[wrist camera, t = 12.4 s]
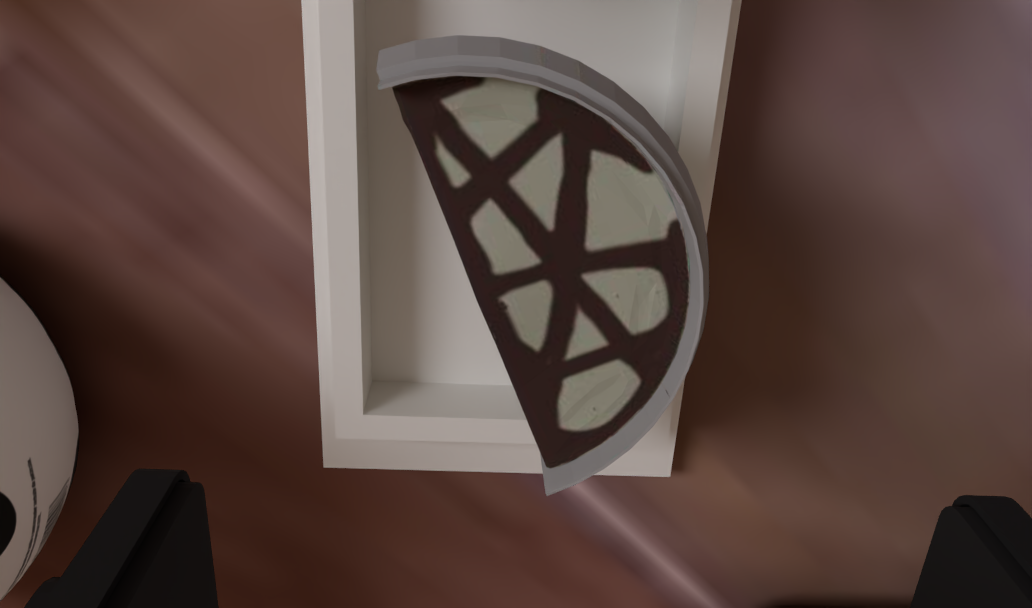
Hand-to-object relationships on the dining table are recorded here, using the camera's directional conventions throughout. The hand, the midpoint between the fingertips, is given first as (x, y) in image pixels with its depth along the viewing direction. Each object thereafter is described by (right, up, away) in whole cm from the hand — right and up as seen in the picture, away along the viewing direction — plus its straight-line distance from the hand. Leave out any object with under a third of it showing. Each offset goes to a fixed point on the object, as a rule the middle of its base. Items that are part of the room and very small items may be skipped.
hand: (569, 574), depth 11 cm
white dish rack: (-1, +8, +19) cm, 21 cm away
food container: (+1, +8, +18) cm, 20 cm away
